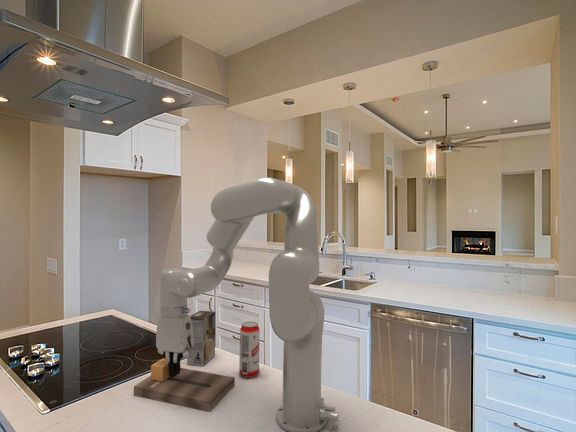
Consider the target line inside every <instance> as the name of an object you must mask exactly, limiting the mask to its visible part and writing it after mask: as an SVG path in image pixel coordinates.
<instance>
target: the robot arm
mask: <svg viewBox="0 0 576 432" xmlns="http://www.w3.org/2000/svg"><path fill="white" fill-rule="evenodd" d="M210 213H211V215H212V216H213V217H214V219H215V220H214V222H213V224H212V225H211V227H210V228H209V230H208V231H207V233H206V240H207V242H208V244H209V245H210V246H212V252H211V254H210V256H209V258H208V259H207V261H206V263H205V264H204V266H201V267H200V266H199V267H196V268H193V269H188V270H186V269H184V268H180V267H173V268H166V269H162V271H161V272H160V274H159V305H160V306H159V316H158V318H157V325H156V333H155V334H156V335H155V345H156V349H157V353H158V354H160V355H163V356H164V359H166V361H167V362H168V371H169V376H170V377H171V376H172V377H175V376H176V375H178V374H179V373H180V368H181V360H183V358H185V357H186V358H187V356H189V355H191V350H190V348H192V347H193V343H194V342H193V328H192V322H191V318H190V316H191V315H190V313H191V308H189V307H188V299H190V298H194V297H198V296H201V295H203V294H205V293H209V292H212V291H214V290H215V289H216V288H218V286H219V285H220V284H221V282H222V281H223V279H224V278H225V277H226V275H227V273H228V271H229V270H230V268H231V266H232V262H233V258H234V250H235V248H236V247H237V245H238V244H239V242H240V241H241V238H243V236H244V234H245V232H246V231H247V230H248V228H249V226H250V224H252V222H253V220H254V219H255V217H257V216H261V215H266V214H276V215H277V214H279V215H284V217H285V222H284V228H283V240H284V243H283V244H284V245H283V247H284V248H283V249H284V250H283V251H281V252H280V253H278V254H277V255H276V256H275V257H274V258H273V259H272V261H271V263H270V266H269V270H268V303H269V305H268V306H269V307H268V309H269V321H270V325H271V328H272V331H273V332H274V334H275V335H276V336H277V338H278V339H280V340H281V341H283V359H282V360H283V361H282V362H283V363H282V365H283V366H282V369H283V370H282V404H281V405H280V406H279V407H278V409H277V410H276V414H275V419H276V422H277V424H278V426H279V427H280V428H282V429H283V430H284V431H287V432H319V431H321V430H322V429H324V427H325V426H326V425H327V421H328V420H329V421H331V422H336V423H337V422H339V416H340V415H339V412H338V411H336V407H335V406H328V405H326V403H325V398H324V397H322V360H323V359H322V356H323V354H322V352H323V351H322V350H323V335H324V334H323V333H324V322H325V306H324V303H323V301H322V298H321V297H320V296H319V295H318V294H317V293H316V292H314V291H312V290H310V285H311V284H312V283H314V281H315V280H317V279H318V276H319V274H320V257H319V255H320V254H319V253H320V252H319V237H318V236H319V235H318V233H319V232H318V215H317V209H316V204H315V202H314V199H313V198H312V196H311V195H310V194H309V193H308V192H307V190H305V189H303V188H302V187H300V186H298V185H296V184H293V183H290V182H288V181H285V180H281V179H277V178H274V177H261V178H256V179H253V180H249V181H247V182H244V183H243V182H242V183H240V184H239V183H238V184H236V185H232V186H229V187H227V188H224V189H222V190H220V191H219V192H217V193H216V194H215V195H214V197H212V201H211V204H210Z"/></svg>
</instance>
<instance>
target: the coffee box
mask: <svg viewBox="0 0 576 432" xmlns="http://www.w3.org/2000/svg"><path fill="white" fill-rule="evenodd" d="M190 318H191V322H192V328H193V342H194V343H193V347H192V348H190V350H191V355H189V356H187V357H186V359H187V361H186V363H187V365H188V366H198V367H205V366H206V365H207V364H208V363H209V362H210V361H211V360H212V359H213V358H215V356H216V311H213V310H211V311H209V310H198V311H197V312H196V313H193V314H192V315H190Z"/></svg>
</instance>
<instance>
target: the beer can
mask: <svg viewBox="0 0 576 432" xmlns="http://www.w3.org/2000/svg"><path fill="white" fill-rule="evenodd" d="M260 332H261V330H260V327H259V324H258V322H257V321H245V322H242V323H241V327H240V329H239V367H238V368H239V369H238V370H239V374H240V376H241V377H242V378H245V379H253V378H255V377H257V375H258V374H259V373H260V336H261V335H260V334H261V333H260Z"/></svg>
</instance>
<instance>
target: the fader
mask: <svg viewBox="0 0 576 432" xmlns="http://www.w3.org/2000/svg"><path fill="white" fill-rule="evenodd" d="M150 376H151V379H152V380H157V381H164V380H165V379H167V378H168V377H170V376H169V371H168V362H167V361H166V358H161V359H159V360H158V361H156V362H154V363H153V364H151V365H150Z"/></svg>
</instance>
